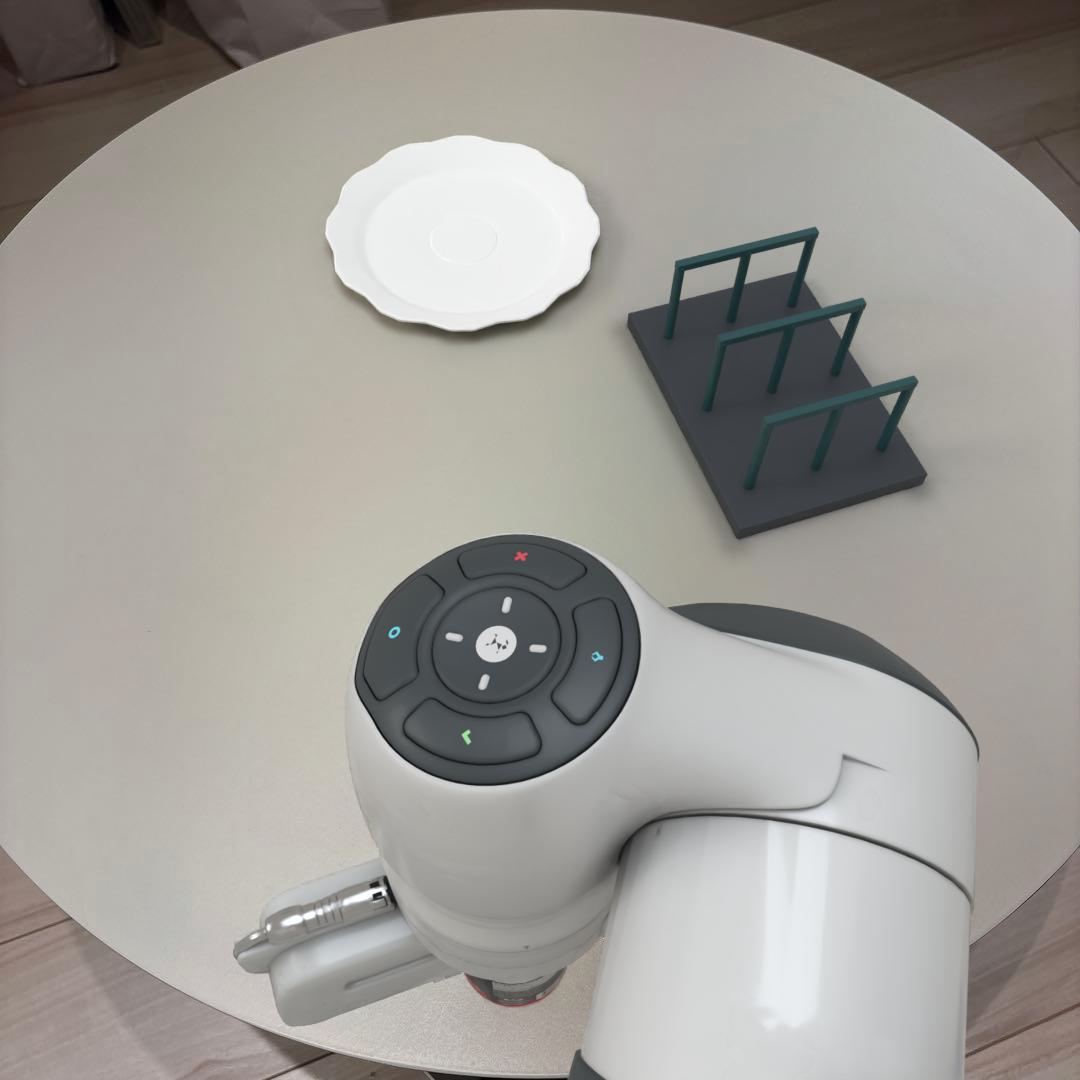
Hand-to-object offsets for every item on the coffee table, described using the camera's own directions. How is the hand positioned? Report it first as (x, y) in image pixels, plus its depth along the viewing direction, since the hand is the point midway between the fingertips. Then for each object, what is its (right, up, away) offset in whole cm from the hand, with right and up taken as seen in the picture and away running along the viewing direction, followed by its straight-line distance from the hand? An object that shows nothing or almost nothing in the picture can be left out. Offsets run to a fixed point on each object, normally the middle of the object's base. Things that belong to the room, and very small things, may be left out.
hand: (514, 934), depth 53 cm
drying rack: (+18, +28, +29) cm, 44 cm away
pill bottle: (0, -2, +3) cm, 4 cm away
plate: (-5, +42, +37) cm, 56 cm away
